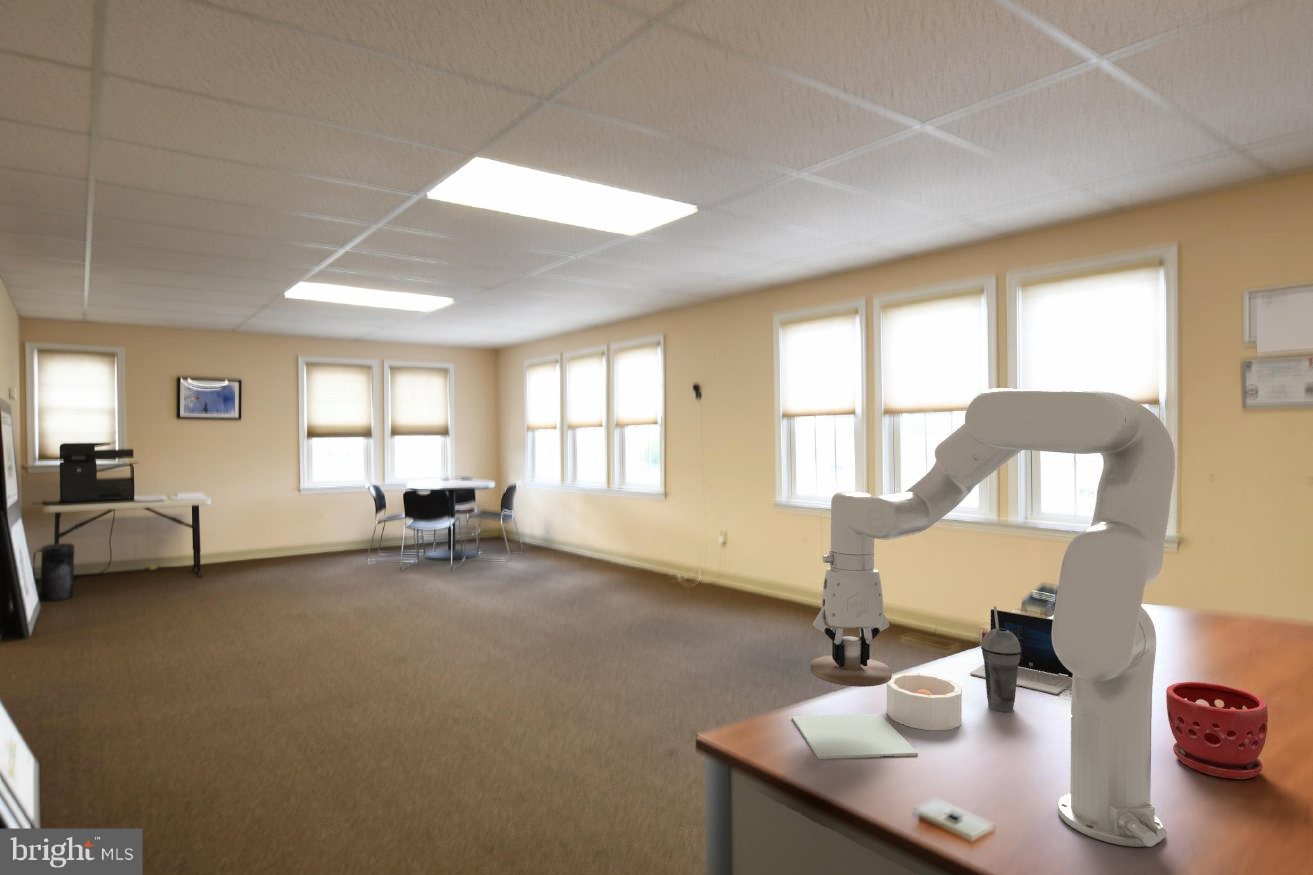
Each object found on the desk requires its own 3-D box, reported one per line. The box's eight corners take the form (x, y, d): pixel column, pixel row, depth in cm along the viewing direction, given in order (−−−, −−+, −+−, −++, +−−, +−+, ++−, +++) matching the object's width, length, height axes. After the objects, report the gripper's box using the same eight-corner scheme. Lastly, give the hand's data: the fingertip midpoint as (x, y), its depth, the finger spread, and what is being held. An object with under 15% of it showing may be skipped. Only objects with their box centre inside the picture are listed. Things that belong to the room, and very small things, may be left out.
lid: (904, 685, 125) (905, 650, 125) (823, 687, 124) (824, 652, 124) (874, 659, 139) (874, 627, 139) (801, 660, 138) (801, 628, 138)
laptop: (969, 676, 165) (969, 618, 165) (990, 663, 174) (990, 608, 174) (1057, 697, 152) (1058, 634, 152) (1075, 682, 161) (1075, 622, 161)
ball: (938, 714, 139) (938, 693, 139) (918, 715, 139) (918, 694, 139) (929, 706, 143) (929, 686, 143) (909, 707, 143) (909, 686, 143)
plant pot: (1169, 743, 129) (1170, 674, 129) (1266, 764, 121) (1267, 691, 121) (1161, 769, 119) (1162, 695, 119) (1267, 795, 111) (1268, 715, 111)
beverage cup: (1026, 716, 141) (1026, 612, 141) (985, 713, 143) (986, 610, 142) (1015, 702, 148) (1016, 603, 148) (976, 699, 150) (977, 601, 149)
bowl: (974, 729, 135) (974, 696, 135) (904, 731, 134) (904, 698, 134) (941, 702, 148) (941, 672, 148) (877, 704, 147) (877, 674, 147)
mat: (917, 755, 124) (917, 752, 124) (818, 758, 123) (818, 755, 123) (879, 716, 141) (879, 713, 141) (792, 718, 140) (792, 716, 140)
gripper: (812, 566, 127) (811, 672, 127) (906, 565, 128) (904, 670, 129) (800, 558, 135) (799, 658, 135) (889, 557, 136) (887, 656, 136)
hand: (850, 663), depth 132 cm, fingers closed on lid, 3 cm apart
